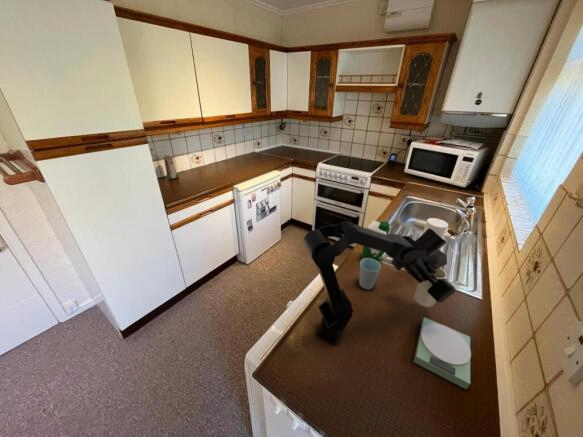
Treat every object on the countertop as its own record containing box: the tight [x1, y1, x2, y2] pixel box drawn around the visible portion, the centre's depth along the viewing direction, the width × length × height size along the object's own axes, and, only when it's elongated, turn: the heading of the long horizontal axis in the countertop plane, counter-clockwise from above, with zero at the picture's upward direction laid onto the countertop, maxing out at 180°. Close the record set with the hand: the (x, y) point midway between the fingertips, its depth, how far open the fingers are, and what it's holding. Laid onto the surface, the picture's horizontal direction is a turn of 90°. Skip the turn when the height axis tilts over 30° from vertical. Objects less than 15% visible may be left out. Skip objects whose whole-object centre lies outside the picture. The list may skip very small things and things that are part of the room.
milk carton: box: [360, 220, 392, 263], centre depth 105 cm, size 9×9×20 cm
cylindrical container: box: [421, 217, 449, 239], centre depth 97 cm, size 7×7×25 cm
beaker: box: [413, 267, 448, 308], centre depth 79 cm, size 7×7×12 cm
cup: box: [358, 258, 382, 290], centre depth 94 cm, size 8×8×10 cm
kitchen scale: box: [413, 316, 472, 390], centre depth 71 cm, size 16×13×3 cm
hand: (433, 284), depth 79 cm, fingers closed on beaker, 7 cm apart
